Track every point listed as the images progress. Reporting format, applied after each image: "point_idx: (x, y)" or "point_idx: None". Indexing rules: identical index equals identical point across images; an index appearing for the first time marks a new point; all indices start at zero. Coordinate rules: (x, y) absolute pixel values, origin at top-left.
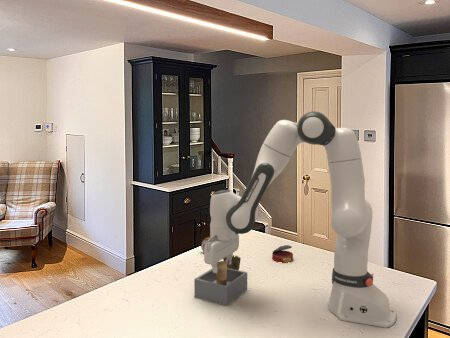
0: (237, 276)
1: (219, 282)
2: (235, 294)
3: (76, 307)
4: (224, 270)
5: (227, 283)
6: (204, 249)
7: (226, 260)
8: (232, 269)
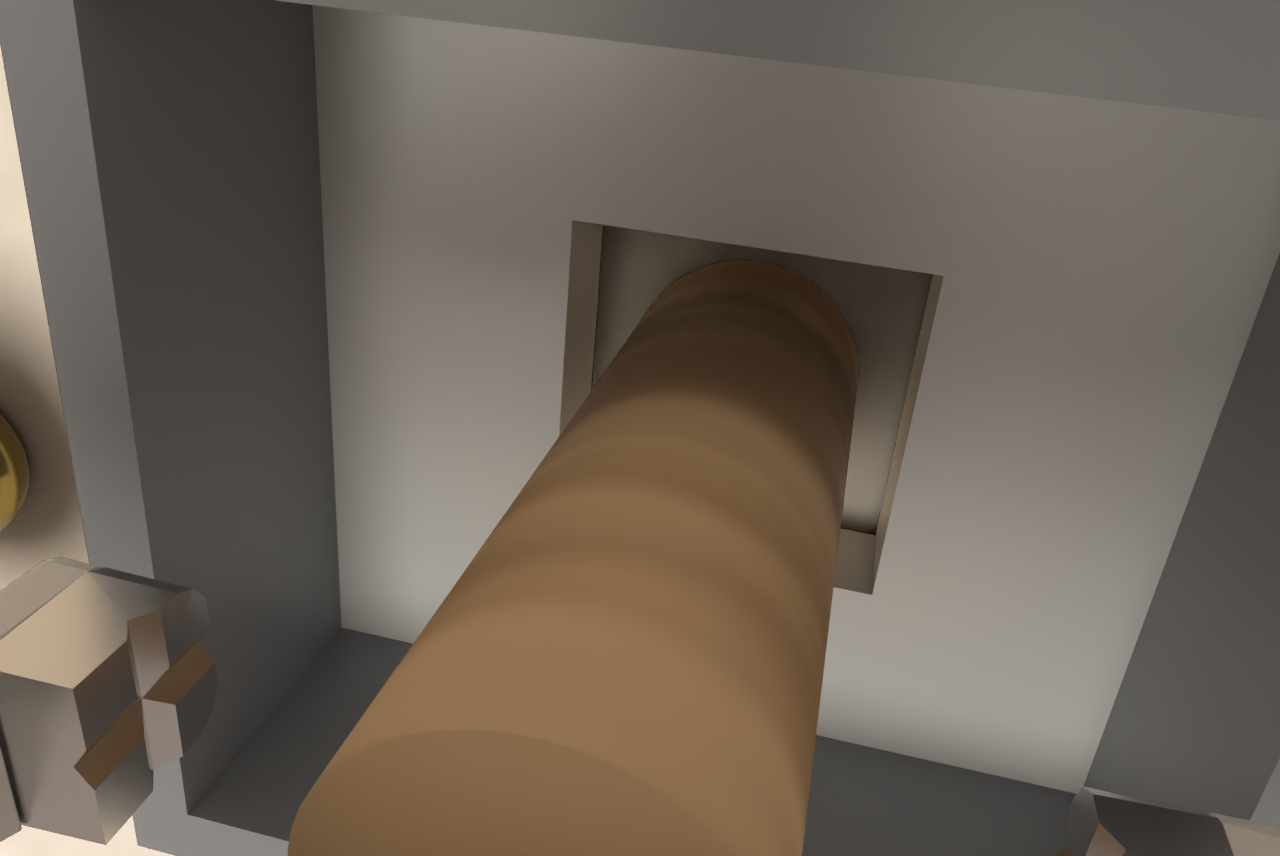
0: (212, 200)
1: (838, 517)
2: None
3: None
4: (712, 604)
5: (437, 375)
6: None
7: (99, 807)
8: (90, 432)
